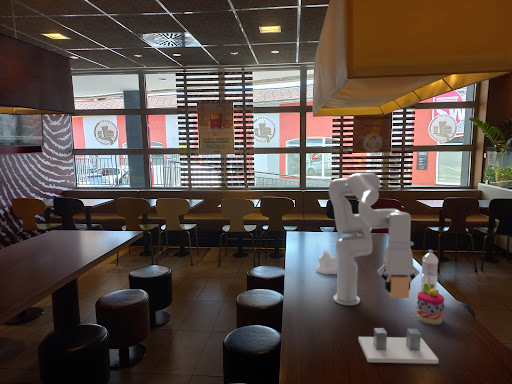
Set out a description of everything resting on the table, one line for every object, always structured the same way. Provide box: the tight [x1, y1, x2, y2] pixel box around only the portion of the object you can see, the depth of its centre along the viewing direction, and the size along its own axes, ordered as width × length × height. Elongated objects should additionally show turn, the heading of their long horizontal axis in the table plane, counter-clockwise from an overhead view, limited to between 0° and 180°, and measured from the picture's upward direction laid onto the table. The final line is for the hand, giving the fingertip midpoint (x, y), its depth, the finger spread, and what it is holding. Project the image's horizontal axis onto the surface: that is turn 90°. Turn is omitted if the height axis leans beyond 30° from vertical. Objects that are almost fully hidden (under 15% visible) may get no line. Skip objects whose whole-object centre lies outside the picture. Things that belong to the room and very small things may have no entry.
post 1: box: [373, 327, 388, 350], centre depth 129 cm, size 4×4×8 cm
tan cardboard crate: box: [385, 275, 410, 299], centre depth 133 cm, size 6×6×8 cm
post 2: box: [405, 328, 422, 351], centre depth 128 cm, size 4×4×8 cm
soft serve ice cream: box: [315, 249, 337, 275], centre depth 210 cm, size 12×15×14 cm
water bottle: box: [420, 249, 439, 292], centre depth 170 cm, size 7×7×25 cm
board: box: [358, 336, 440, 365], centre depth 129 cm, size 14×24×2 cm, turn 87°
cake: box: [416, 283, 445, 326], centre depth 152 cm, size 10×10×15 cm
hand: (397, 290), depth 133 cm, fingers closed on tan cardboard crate, 6 cm apart
